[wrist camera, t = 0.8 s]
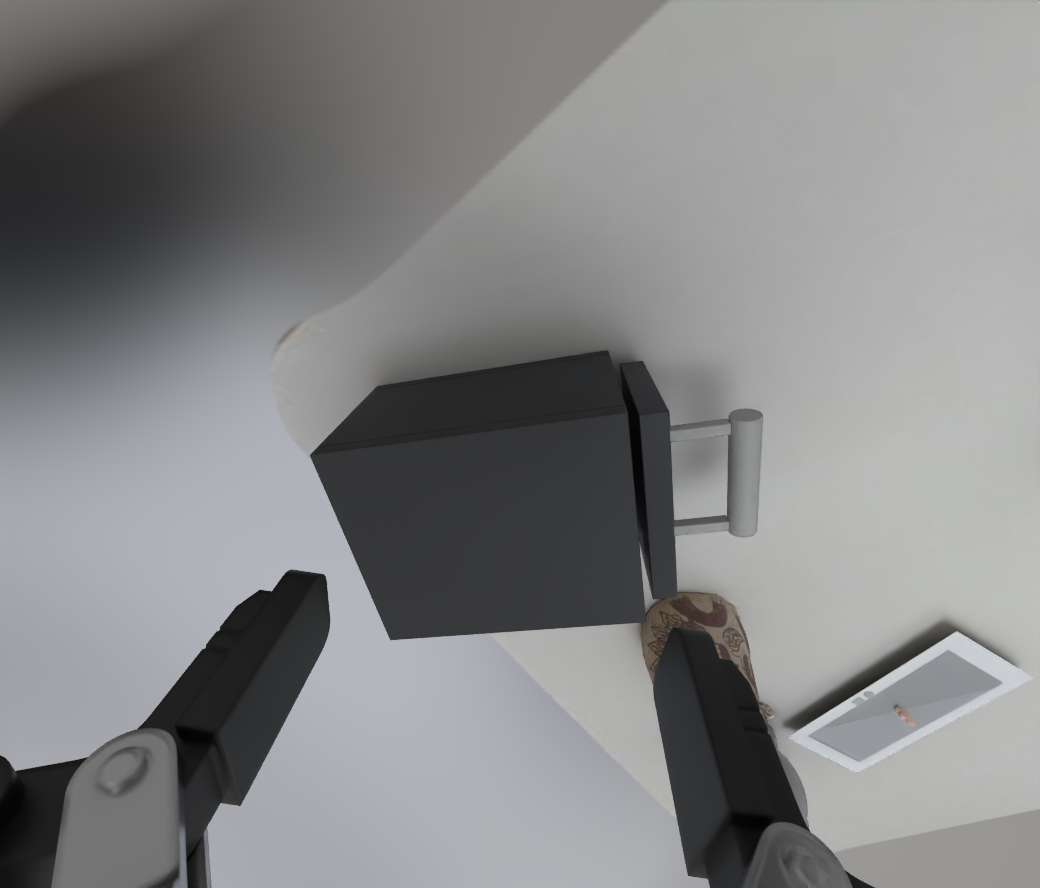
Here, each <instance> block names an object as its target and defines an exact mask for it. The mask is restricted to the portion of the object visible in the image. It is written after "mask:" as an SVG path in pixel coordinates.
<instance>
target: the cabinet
mask: <svg viewBox="0 0 1040 888" xmlns="http://www.w3.org/2000/svg"><path fill="white" fill-rule="evenodd" d="M310 457H311V459H312V461H313V464H314V466H315V468H316V470H317V473H318V475H319V477H320V480H321V482H322V484H323V486H324V489H325V491H326V493H327V496H328V498H329V500H330V503H331V505H332V507H333V510H334V512H335V514H336V516H337V519H338V521H339V523H340V525H341V528H342V530H343V533H344V535H345V537H346V539H347V542H348V544H349V546H350V549H351V551H352V553H353V555H354V558H355V560H356V562H357V565H358V567H359V569H360V571H361V574H362V576H363V578H364V580H365V583H366V585H367V587H368V590H369V592H370V594H371V597H372V599H373V601H374V604H375V606H376V608H377V611H378V613H379V615H380V617H381V620H382V622H383V624H384V627H385V629H386V631H387V634H388V636H389V638H390V640H399V639H413V638H427V637H441V636H456V635H468V634H469V635H470V634H482V633H483V634H484V633H498V632H513V631H527V630H541V629H555V628H570V627H584V626H598V625H612V624H627V623H641V622H646V615H645V604H644V592H643V581H642V569H641V558H640V546H639V535H638V524H637V512H636V501H635V489H634V478H633V466H632V455H631V444H630V432H629V421H628V412H627V409H626V406H625V402H624V399H623V396H622V393H621V390H620V387H619V384H618V381H617V378H616V375H615V372H614V369H613V365H612V362H611V359H610V356H609V353H608V351H601V352H595V353H589V354H582V355H576V356H569V357H563V358H556V359H550V360H544V361H537V362H531V363H524V364H518V365H511V366H505V367H499V368H492V369H486V370H479V371H473V372H466V373H460V374H454V375H447V376H441V377H434V378H428V379H421V380H415V381H409V382H402V383H396V384H389V385H383V386H377V387H376V388H375V389H374V390H373V391H372V392H371V393H370V394H369V395H368V396H367V397H366V398H365V399H364V400H363V401H362V402H361V403H360V404H359V405H358V406H357V407H356V408H355V409H354V410H353V411H352V412H351V414H350V415H349V416H348V417H347V418H346V419H345V420H344V421H343V422H342V423H341V424H340V425H339V426H338V427H337V428H336V429H335V430H334V431H333V432H332V433H331V434H330V435H329V436H328V437H327V438H326V439H325V440H324V441H323V442H322V443H321V444H320V445H319V446H318V448H316V449H315V450H314V451H313V452H312V453H311V455H310Z"/></svg>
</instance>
